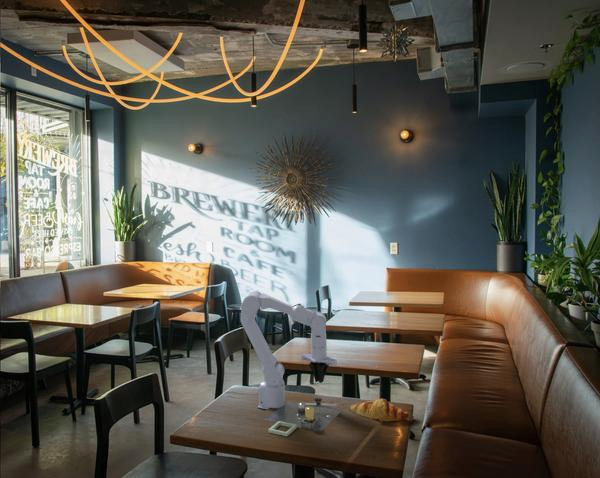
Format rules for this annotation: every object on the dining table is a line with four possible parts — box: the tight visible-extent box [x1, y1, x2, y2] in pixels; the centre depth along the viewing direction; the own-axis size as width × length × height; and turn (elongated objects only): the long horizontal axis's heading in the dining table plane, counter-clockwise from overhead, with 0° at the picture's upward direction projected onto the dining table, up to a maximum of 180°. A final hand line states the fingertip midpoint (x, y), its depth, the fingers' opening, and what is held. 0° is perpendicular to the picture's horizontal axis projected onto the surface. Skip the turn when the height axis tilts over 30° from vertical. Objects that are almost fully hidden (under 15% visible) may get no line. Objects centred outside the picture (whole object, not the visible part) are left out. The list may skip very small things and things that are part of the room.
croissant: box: [350, 398, 410, 422], centre depth 176 cm, size 21×10×8 cm
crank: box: [297, 397, 337, 412], centre depth 179 cm, size 14×3×5 cm, turn 83°
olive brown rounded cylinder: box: [305, 406, 314, 423], centre depth 168 cm, size 3×3×6 cm
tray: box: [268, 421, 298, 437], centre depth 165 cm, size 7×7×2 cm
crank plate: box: [263, 400, 342, 433], centre depth 176 cm, size 22×18×3 cm
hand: (319, 381), depth 184 cm, fingers closed
